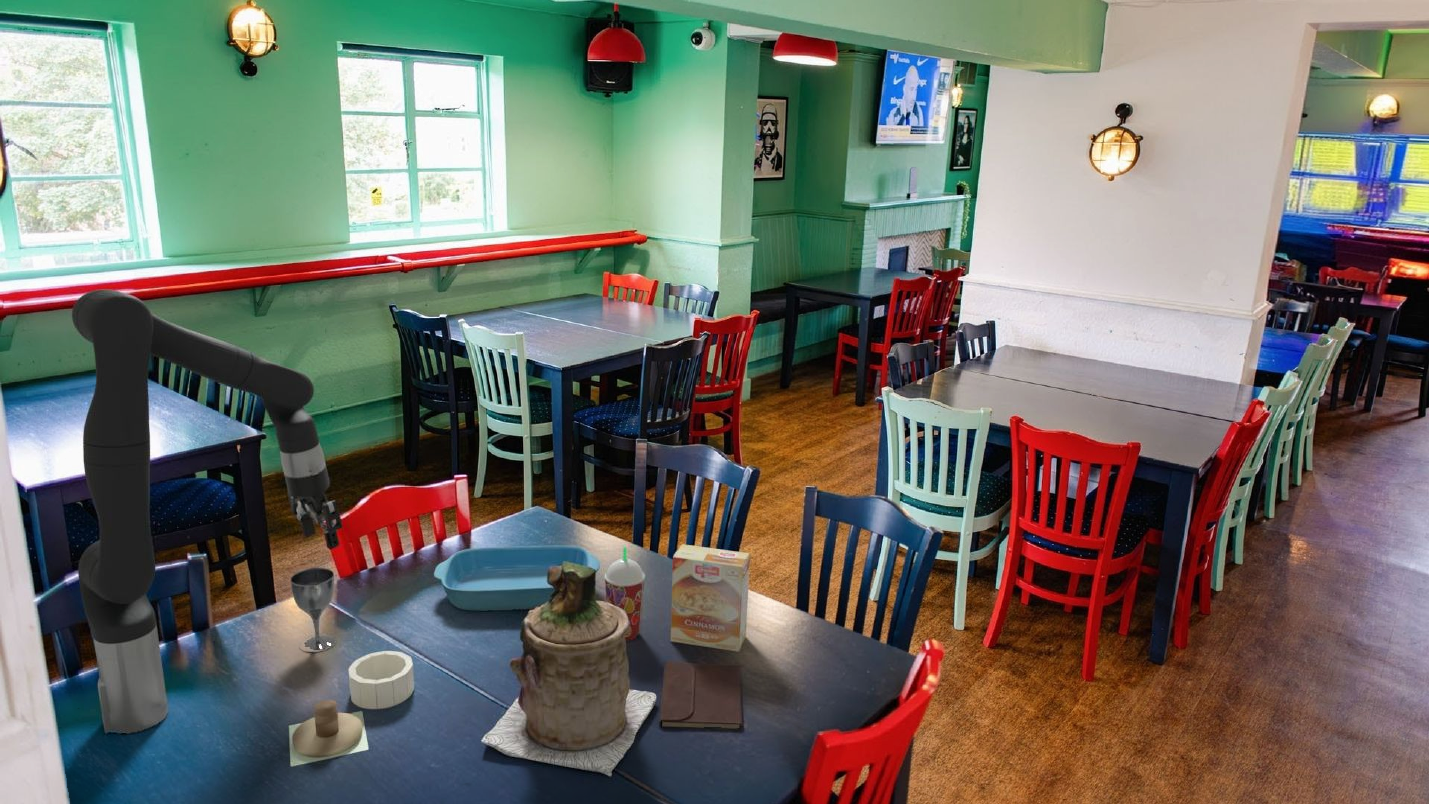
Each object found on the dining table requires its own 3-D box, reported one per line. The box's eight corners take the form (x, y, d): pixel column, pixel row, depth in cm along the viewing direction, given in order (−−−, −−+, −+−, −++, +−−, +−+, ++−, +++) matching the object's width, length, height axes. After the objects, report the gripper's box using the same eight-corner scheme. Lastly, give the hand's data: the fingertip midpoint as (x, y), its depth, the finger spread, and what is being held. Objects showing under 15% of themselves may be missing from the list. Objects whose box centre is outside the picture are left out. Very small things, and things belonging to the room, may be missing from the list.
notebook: (739, 671, 188) (740, 662, 188) (742, 731, 169) (742, 721, 169) (664, 669, 188) (664, 660, 188) (658, 728, 169) (659, 719, 169)
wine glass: (310, 658, 187) (304, 589, 183) (289, 644, 191) (282, 577, 187) (346, 642, 193) (341, 575, 189) (325, 629, 198) (319, 564, 194)
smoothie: (646, 626, 203) (648, 541, 198) (640, 646, 195) (641, 557, 190) (608, 623, 204) (609, 538, 199) (600, 643, 196) (600, 554, 191)
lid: (293, 764, 154) (290, 731, 153) (292, 726, 164) (289, 695, 162) (365, 748, 159) (362, 716, 157) (359, 713, 169) (357, 682, 167)
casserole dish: (428, 620, 204) (427, 589, 202) (442, 574, 225) (441, 546, 223) (600, 614, 209) (600, 584, 207) (598, 570, 230) (598, 542, 228)
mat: (291, 770, 154) (290, 766, 154) (289, 729, 164) (288, 725, 164) (368, 753, 159) (368, 749, 159) (362, 714, 169) (362, 710, 169)
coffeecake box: (669, 642, 198) (671, 556, 193) (678, 626, 204) (681, 542, 199) (739, 653, 194) (743, 566, 189) (746, 636, 201) (750, 552, 196)
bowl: (353, 718, 168) (351, 688, 167) (348, 686, 178) (346, 657, 176) (417, 705, 173) (416, 676, 171) (409, 674, 182) (408, 646, 181)
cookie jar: (661, 701, 177) (664, 543, 168) (612, 783, 154) (613, 605, 146) (540, 677, 183) (538, 524, 175) (476, 753, 160) (470, 580, 152)
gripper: (266, 466, 183) (285, 539, 189) (306, 483, 174) (324, 560, 180) (302, 452, 188) (319, 524, 194) (343, 468, 180) (359, 543, 186)
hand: (321, 541), depth 187 cm, fingers open, 8 cm apart
